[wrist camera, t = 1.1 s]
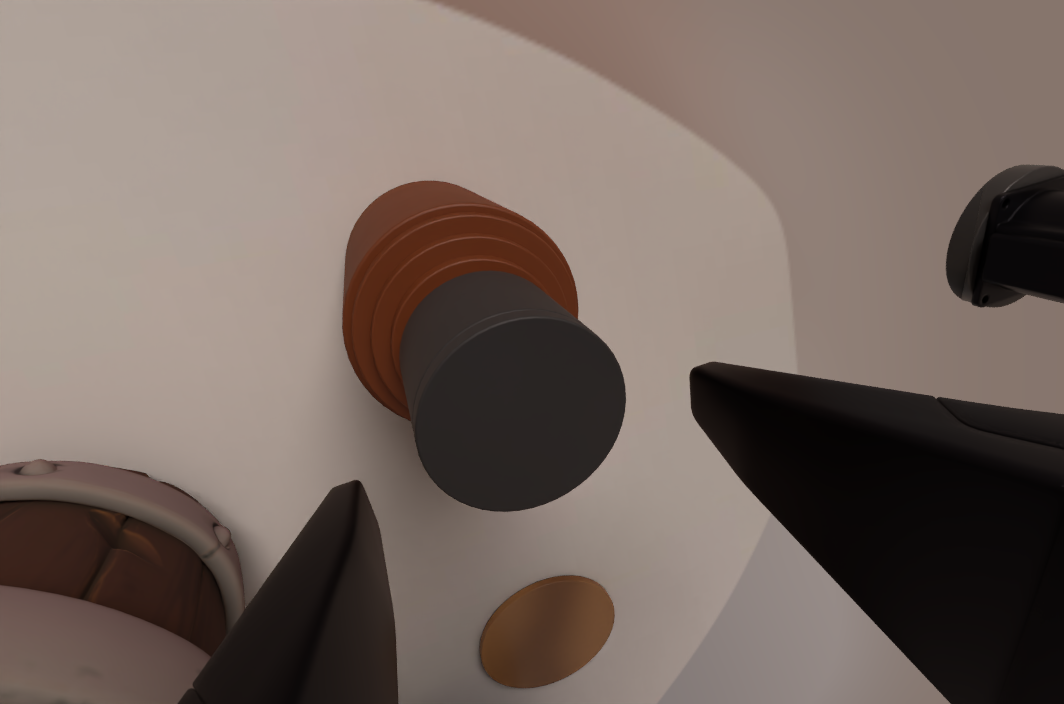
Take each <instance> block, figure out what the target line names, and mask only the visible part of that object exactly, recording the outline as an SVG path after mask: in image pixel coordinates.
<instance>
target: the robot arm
mask: <svg viewBox="0 0 1064 704" xmlns="http://www.w3.org/2000/svg"><path fill="white" fill-rule="evenodd" d="M1020 294H1026V295H1031V296H1035V297H1039V298H1043V299H1048V300H1052V301H1056V302H1060V303H1064V175H1061V176H1058V177H1054V178H1051V179H1048V180H1044V181H1041V182H1037V183H1034V184H1030V185H1027V186H1024V187H1020V188H1017V189H1013V190H1010V191H1007V192H1003V193H1000V194H998V195H996V196H995V197H994V199H993V201H992V203H991V206H990V211H989V216H988V221H987V226H986V231H985V236H984V241H983V246H982V251H981V255H980V260H979V265H978V270H977V275H976V280H975V285H974V290H973V295H972V300H971V303H972V305H974V306H978V307H985V306H988V305H991V304H994V303H997V302H1000V301H1003V300H1006V299H1009V298H1011V297H1014V296H1017V295H1020ZM690 396H691V410H692V413H693V416H694V418H695V420H696V421H697V423H698V424H699V426H700V427H701V428H702V429H703V431H704V432H705V433H706V435H707V436H708V437H709V439H710V440H711V441H712V443H713V444H714V445H715V447H716V448H717V449H718V451H719V452H720V453H721V455H722V456H723V457H724V459H725V460H726V461H727V462H728V464H729V465H730V466H731V468H732V469H733V470H734V472H735V473H736V474H737V476H738V477H739V478H740V479H741V480H742V482H743V483H744V484H745V485H746V486H747V487H748V489H749V490H750V491H751V492H752V493H753V494H754V495H755V496H756V497H757V498H758V499H759V501H760V502H761V503H762V504H763V505H764V506H765V507H766V508H767V509H768V510H769V511H770V512H771V513H772V514H773V515H774V516H775V517H776V518H777V520H778V521H779V522H780V523H781V524H782V525H783V526H784V527H785V528H786V529H787V530H788V531H789V532H790V533H791V534H792V536H793V537H794V538H795V539H796V540H797V541H798V542H799V543H800V544H801V545H802V546H803V547H804V548H805V549H806V550H807V551H808V552H809V554H810V555H811V556H812V557H813V558H814V559H815V560H816V561H817V562H818V563H819V564H820V565H821V566H822V567H823V568H824V570H825V571H826V572H827V573H828V574H829V575H830V576H831V577H832V578H833V579H834V580H835V581H836V582H837V583H838V584H839V585H840V587H842V589H843V590H844V591H845V592H846V593H847V594H848V595H849V596H850V597H851V598H852V599H853V600H854V601H855V602H856V604H857V605H858V606H859V607H860V608H861V609H862V610H863V611H864V612H865V613H866V614H867V615H868V616H869V617H870V618H871V619H872V620H873V621H874V623H875V624H876V625H877V626H878V627H879V628H880V629H881V630H882V631H883V632H884V633H885V634H886V635H887V636H888V638H889V639H890V640H891V641H892V642H893V643H894V644H895V645H896V646H897V647H898V648H899V649H900V650H901V651H902V652H903V653H904V655H905V656H906V657H907V658H908V659H909V660H910V661H911V662H912V663H913V664H914V665H915V666H916V667H917V668H918V669H919V670H920V671H921V673H922V674H923V675H924V676H925V677H926V678H927V679H928V680H929V681H930V682H931V683H932V684H933V685H934V686H935V687H936V689H937V690H938V691H939V692H940V693H941V694H942V695H943V696H944V697H945V698H946V699H947V700H948V701H949V702H950V703H951V704H1064V414H1056V413H1048V412H1040V411H1032V410H1023V409H1016V408H1009V407H1001V406H995V405H988V404H981V403H975V402H967V401H961V400H955V399H948V398H942V397H938V398H937V399H935V397H933V396H929V395H922V394H916V393H910V392H903V391H897V390H891V389H885V388H878V387H872V386H865V385H859V384H852V383H846V382H840V381H834V380H827V379H821V378H815V377H808V376H802V375H796V374H789V373H783V372H777V371H770V370H764V369H758V368H751V367H745V366H738V365H732V364H726V363H719V362H709V363H706V364H703V365H700V366H697V367H694V368H693V369H692V370H691V372H690ZM193 687H194V688H190V689H188V690H187V691H186V692H185V694H184V695H183V697H182V698H181V699H180V701H179V702H178V704H398V680H397V653H396V632H395V620H394V612H393V605H392V599H391V593H390V587H389V581H388V575H387V569H386V563H385V557H384V551H383V545H382V539H381V533H380V528H379V525H378V522H377V519H376V516H375V514H374V511H373V509H372V506H371V504H370V501H369V499H368V496H367V494H366V491H365V489H364V487H363V485H362V483H361V482H360V481H359V480H354V481H351V482H348V483H345V484H342V485H339V486H336V487H334V488H332V489H331V490H330V492H329V493H328V494H327V496H326V497H325V499H324V500H323V501H322V503H321V504H320V506H319V507H318V508H317V510H316V511H315V513H314V514H313V515H312V517H311V518H310V520H309V521H308V522H307V524H306V525H305V527H304V528H303V529H302V531H301V532H300V534H299V535H298V536H297V538H296V539H295V541H294V542H293V543H292V545H291V546H290V548H289V549H288V550H287V552H286V553H285V555H284V556H283V557H282V559H281V560H280V562H279V563H278V564H277V566H276V567H275V568H274V570H273V571H272V573H271V574H270V575H269V577H268V578H267V580H266V581H265V582H264V584H263V585H262V587H261V588H260V589H259V591H258V592H257V594H256V595H255V596H254V598H253V599H252V601H251V602H250V603H249V605H248V606H247V608H246V609H245V610H244V612H243V613H242V615H241V616H240V617H239V619H238V620H237V622H236V623H235V624H234V626H233V627H232V629H231V630H230V631H229V633H228V634H227V635H226V637H225V638H224V640H223V641H222V642H221V644H220V645H219V647H218V648H217V649H216V651H215V652H214V654H213V655H212V656H211V658H210V659H209V661H208V662H207V663H206V665H205V666H204V668H203V669H202V670H201V672H200V673H199V675H198V676H197V677H196V679H195V680H194V682H193Z"/></svg>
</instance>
